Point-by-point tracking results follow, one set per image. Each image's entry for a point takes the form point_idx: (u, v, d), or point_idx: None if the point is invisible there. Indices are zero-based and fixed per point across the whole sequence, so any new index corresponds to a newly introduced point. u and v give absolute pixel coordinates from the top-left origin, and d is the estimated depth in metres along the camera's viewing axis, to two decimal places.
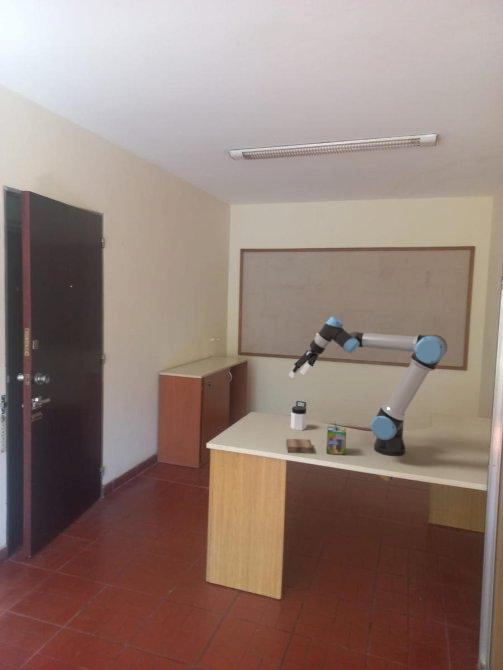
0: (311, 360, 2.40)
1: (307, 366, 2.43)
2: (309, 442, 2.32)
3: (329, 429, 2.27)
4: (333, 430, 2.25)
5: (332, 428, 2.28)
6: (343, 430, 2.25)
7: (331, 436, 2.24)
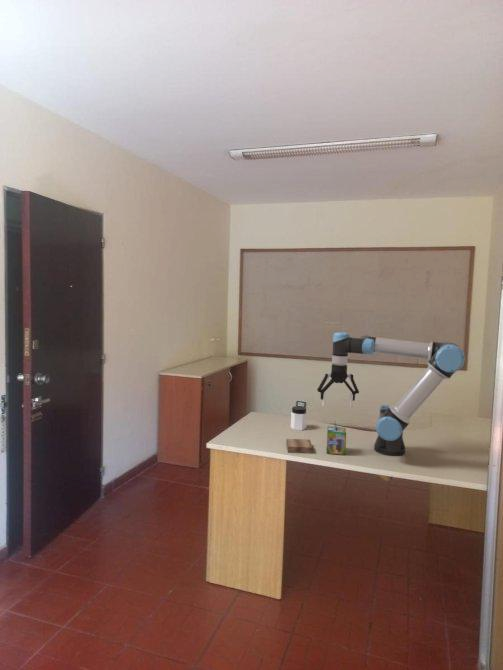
0: None
1: (350, 396, 2.26)
2: (309, 442, 2.32)
3: (329, 429, 2.27)
4: (333, 430, 2.25)
5: (332, 428, 2.28)
6: (343, 430, 2.25)
7: (331, 436, 2.24)
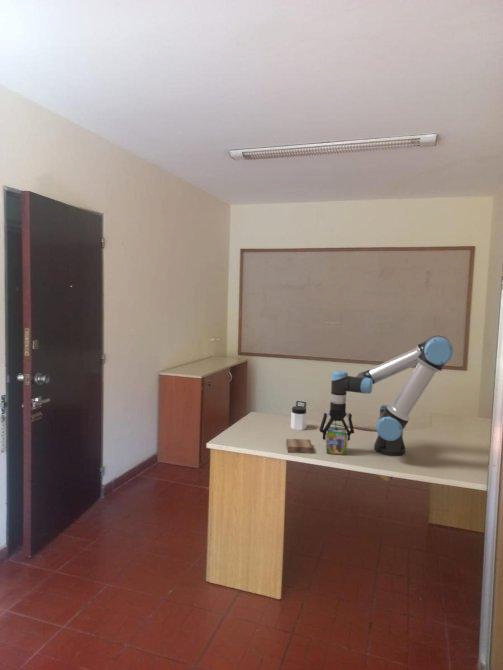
0: (344, 426, 2.27)
1: None
2: (309, 442, 2.32)
3: (329, 429, 2.27)
4: (333, 430, 2.25)
5: (332, 428, 2.28)
6: (343, 430, 2.25)
7: (331, 436, 2.24)
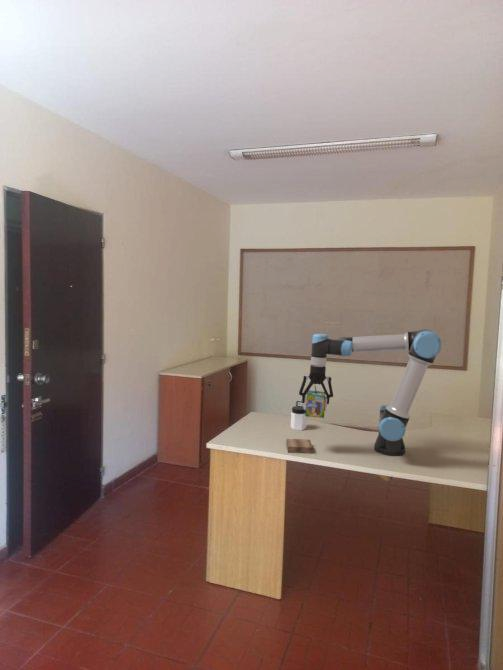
0: (323, 389, 2.26)
1: (325, 400, 2.27)
2: (309, 442, 2.32)
3: (309, 392, 2.26)
4: (312, 393, 2.25)
5: (312, 391, 2.28)
6: (323, 393, 2.25)
7: (310, 399, 2.24)
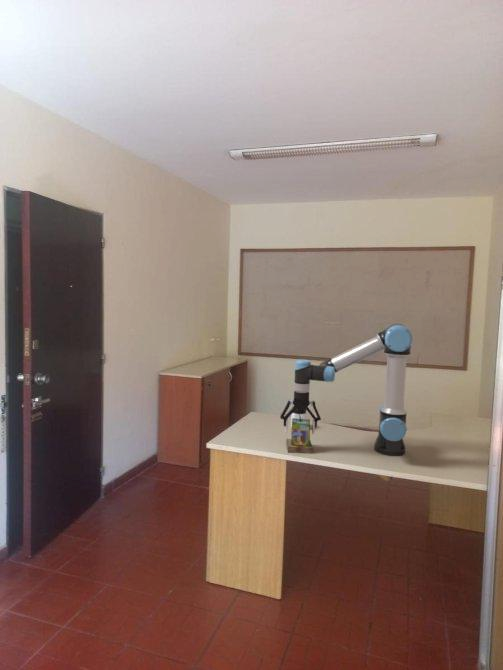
0: (310, 414, 2.28)
1: (313, 423, 2.29)
2: None
3: (293, 421, 2.28)
4: (297, 422, 2.27)
5: (296, 420, 2.30)
6: (307, 421, 2.27)
7: (295, 428, 2.25)
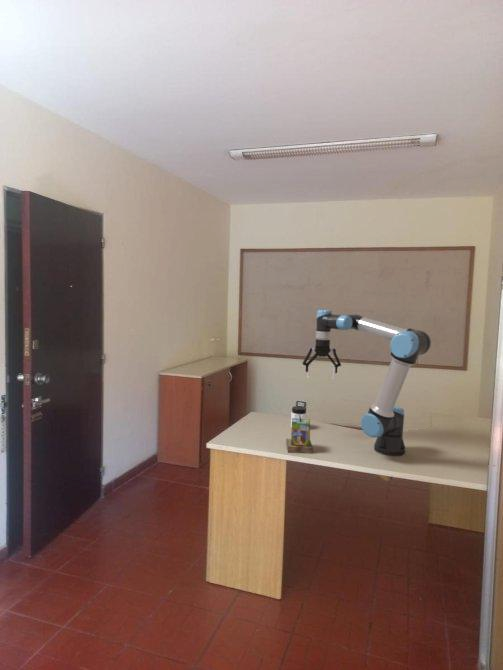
0: (330, 360, 2.44)
1: (333, 369, 2.45)
2: None
3: (293, 421, 2.28)
4: (297, 422, 2.27)
5: (296, 420, 2.30)
6: (307, 421, 2.27)
7: (295, 428, 2.25)
